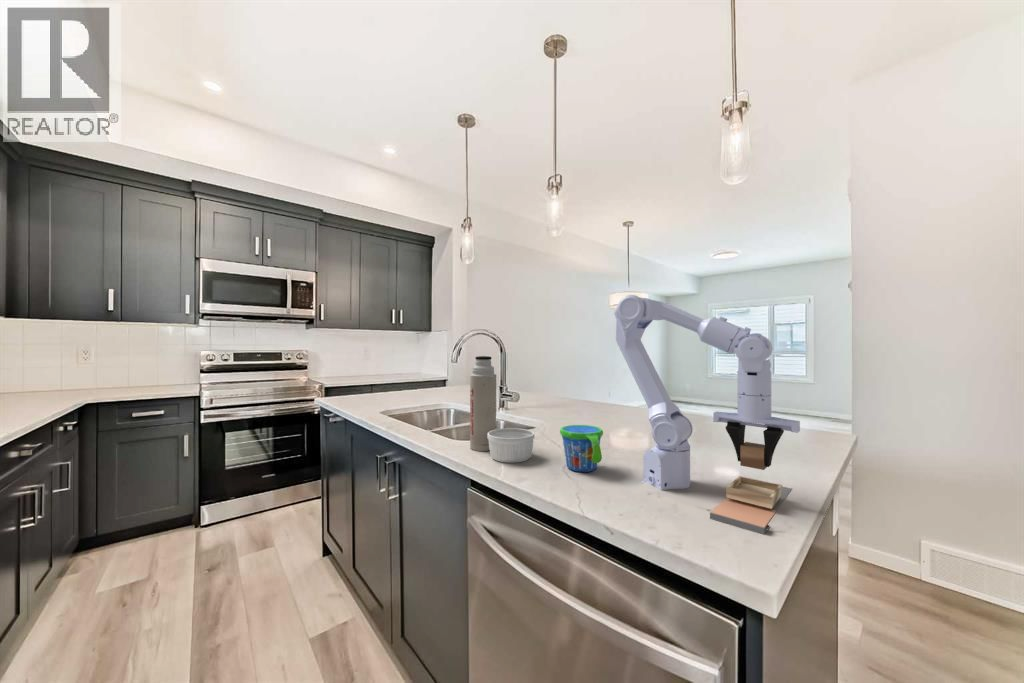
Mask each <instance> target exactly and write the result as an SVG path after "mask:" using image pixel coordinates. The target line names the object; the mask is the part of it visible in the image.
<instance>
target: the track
mask: <svg viewBox="0 0 1024 683" xmlns="http://www.w3.org/2000/svg"><path fill="white" fill-rule="evenodd" d="M791 491H793V488H792V487H786V486H783V485H782V496H781V497H780V500H778V501H777V503H776V504H775V505H774V507H773V509H770V508H766V507H762V506H758V505H754V504H750V503H746V502H742V501H738V500H734V499H730V498H727V497H726V498H724V499H723V500H722V501H721V502H720V503H719V504H718V505H717V506H716V507H714V508H713V509H712V510H711V511H710V512H709V519H711V520H713V521H718V522H721V523H724V524H727V525H730V526H731V525H732V526H734V527H738V528H741V529H745V530H748V531H752V532H755V533H758V534H762V535H765V533H766V532H767V531H768V529H769V528H770V526H771V525H770V524H769V522H770V521H771V520H772V518H773V516H774V515H775V514H776V512H777V511H778V510H779V509H780V507H781V506H782V504H783V503H784V501H785V500H786V498H787V497H788V495H790V493H791Z"/></svg>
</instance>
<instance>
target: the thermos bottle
mask: <svg viewBox="0 0 1024 683" xmlns="http://www.w3.org/2000/svg"><path fill="white" fill-rule="evenodd" d="M474 358H475V365H474V366H473V367H472V369H471V371H472V373H471V374H470V375H469V379H470V380H469V381H470V382H469V383H470V384H469V389H470V390H469V395H470V396H469V405H470V408H469V410H470V411H469V412H470V414H469V415H470V417H469V419H470V420H469V421H470V422H469V426H470V428H469V434H470V435H469V442H470V443H469V446H470V448H469V449H470V450H472V449H473V450H472V451H475V450H477V451H476V452H488V450H490V449H489V440H488V438H487V436H488V432H489V431H492V430H495V429H497V374H496V373H495V367H494V366H493V365H492V361H491V360H492V356H486V355H481V356H480V355H479V356H478V355H477V356H475V357H474Z"/></svg>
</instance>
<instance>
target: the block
mask: <svg viewBox="0 0 1024 683" xmlns="http://www.w3.org/2000/svg"><path fill="white" fill-rule="evenodd" d="M764 457H765V444H763V443H755V442H751V441H744V443H743V444H742V445H740V461H739V462H740V467H746V468H751V469H755V470H756V469H757V470H761V471H762V470H763V471H764V470H766V469H767V468H768V467H766V466H765V463H764Z"/></svg>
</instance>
